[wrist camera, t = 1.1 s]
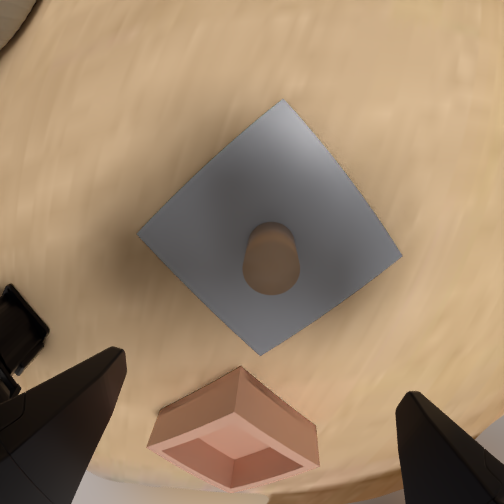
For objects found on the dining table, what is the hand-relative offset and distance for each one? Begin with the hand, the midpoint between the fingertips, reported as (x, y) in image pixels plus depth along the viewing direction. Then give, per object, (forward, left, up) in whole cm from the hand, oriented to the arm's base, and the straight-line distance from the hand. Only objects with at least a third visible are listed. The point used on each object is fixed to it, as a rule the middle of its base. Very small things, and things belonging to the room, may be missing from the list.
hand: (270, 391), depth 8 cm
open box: (+12, -14, -12) cm, 22 cm away
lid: (0, 0, -13) cm, 13 cm away
